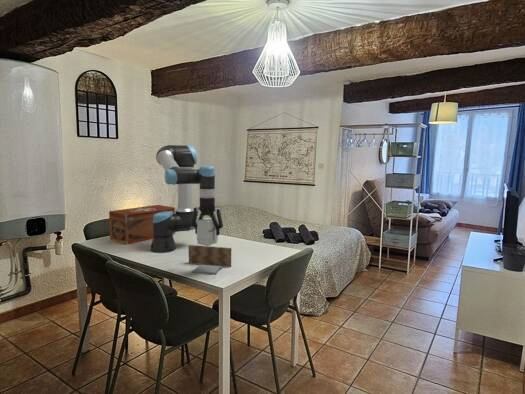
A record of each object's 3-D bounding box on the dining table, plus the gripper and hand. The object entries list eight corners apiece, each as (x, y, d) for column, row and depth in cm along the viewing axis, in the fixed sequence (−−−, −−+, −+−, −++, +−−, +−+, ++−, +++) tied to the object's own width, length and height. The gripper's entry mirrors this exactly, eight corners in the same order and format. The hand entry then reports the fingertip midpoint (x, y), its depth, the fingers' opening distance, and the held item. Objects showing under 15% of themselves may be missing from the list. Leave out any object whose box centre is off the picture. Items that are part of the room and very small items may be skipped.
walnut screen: (188, 263, 180) (188, 245, 179) (189, 262, 181) (189, 244, 180) (230, 266, 176) (230, 248, 174) (231, 266, 177) (231, 247, 176)
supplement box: (208, 246, 162) (207, 221, 161) (196, 244, 166) (196, 219, 165) (217, 243, 169) (217, 219, 167) (206, 241, 173) (206, 217, 171)
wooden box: (109, 239, 225) (108, 211, 223) (158, 229, 258) (158, 204, 256) (126, 245, 214) (125, 214, 211) (176, 233, 247) (175, 207, 244)
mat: (192, 272, 166) (192, 270, 166) (200, 266, 175) (200, 264, 175) (215, 274, 163) (215, 272, 163) (221, 268, 173) (221, 266, 173)
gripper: (184, 197, 163) (184, 241, 166) (225, 198, 159) (225, 244, 162) (190, 195, 170) (190, 237, 173) (229, 197, 166) (229, 240, 169)
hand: (207, 240), depth 167 cm, fingers closed on supplement box, 9 cm apart
